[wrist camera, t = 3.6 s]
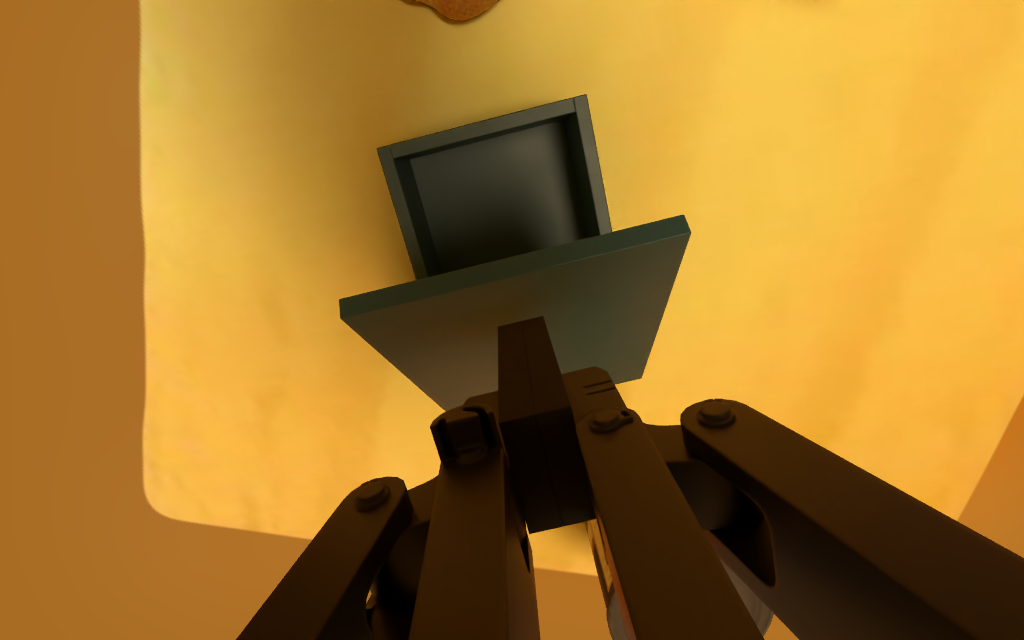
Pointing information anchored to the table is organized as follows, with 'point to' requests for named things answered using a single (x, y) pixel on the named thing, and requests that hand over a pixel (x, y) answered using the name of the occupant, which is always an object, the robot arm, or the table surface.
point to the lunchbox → (497, 187)
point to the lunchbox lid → (528, 310)
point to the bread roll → (460, 7)
